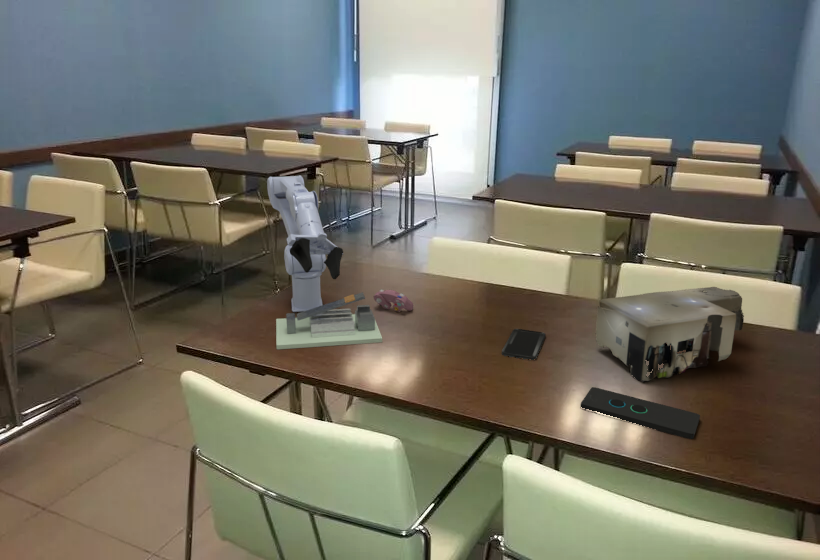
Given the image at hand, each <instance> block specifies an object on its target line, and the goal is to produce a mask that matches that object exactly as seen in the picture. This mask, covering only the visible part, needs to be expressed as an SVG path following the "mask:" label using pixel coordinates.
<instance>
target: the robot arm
mask: <svg viewBox="0 0 820 560" xmlns="http://www.w3.org/2000/svg"><path fill="white" fill-rule="evenodd" d="M266 184H267V186H266V187H267V195H268V199H269V202H270V205H271V206H272V208H273V209H274V210H276V211H278V212H279V214H280V216H281V219H282V222H283V224H284V227H285V230H286V233H287V237H286V243H287V245H286V246H285V248H284V254H283V256H284V257H283V259H284V265H285V269H286V270H285V272H286V273H287V274H288V275H289V276H291V281H292V282H291V285H292V286H291V288H292V298H291V299H290V301H291V311H292V312H291V313H297V312H298V313H300V312H304V311H307V310H310V309H313V308H316V307H319V306H322V305H324V304H323V300H322V297H321V296H322V295H321V276H322V273H324V272H325V270H326V268H327V269H328V270H329V274H330V277H331V278H332V279H333V280H337V279H338V277H339V276H340V275H341V273H340V272H341V271H340V269H341V261H342V258H343V256H344V249H343V248H342V247H339V246H337V245H336V244H334V243H333V242H332V241H331V240H329V239H328V238H327V237H328V235H327V233H325V231H324V228H323V227H324V226H323V224H322V221H321V217H320V214H319V199H318V194H317V192H316V191H315V190H312V191H308V189H307V188H306V187H305V186H306V185H305V180H304V177H303V176H302V175H299V174H298V175H295V176H294V175H290V176H269V177H268V178H267V180H266ZM326 255H327V256H326Z"/></svg>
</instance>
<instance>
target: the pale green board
mask: <svg viewBox="0 0 820 560" xmlns="http://www.w3.org/2000/svg"><path fill="white" fill-rule="evenodd" d="M352 317H353V321H354V325H355V335H345V336H330V337H314V338H312V336H311V328H310V320H309V317H308V318H305V319H301V320H297V317H295V324H296V334H287V319H286V317H285V318H276V319H275V321H276V322H275V323H276V324H275V326H276V327H275V328H276V329H275V330H276V332H275V335H276V337H275V338H276V341H275V342H276V343H275V344H276V350H287V349H290V350H291V349H303V348H315V347H316V348H319V347H333V346H345V345H346V346H347V345H361V344H362V345H363V344H374V343H375V344H376V343H377V344H378V343H383V337H382V334H381V331H380V329H379V326H378V324H377V321H376V320H375V330H372V331H358V329H357V326H356V323H355V313H352Z"/></svg>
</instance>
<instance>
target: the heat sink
mask: <svg viewBox="0 0 820 560" xmlns="http://www.w3.org/2000/svg"><path fill="white" fill-rule="evenodd" d="M351 311H352V310H351V308H340V309H339V308H335V309H332V310H329V311H326V312H323V313H320V314H317V315H314V316H311V317H309V320H310V328H311V336H312V338H314V337H330V336H345V335H355V325H354V321H353V317H352V314H353V312H351Z"/></svg>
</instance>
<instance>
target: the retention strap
mask: <svg viewBox="0 0 820 560" xmlns="http://www.w3.org/2000/svg"><path fill="white" fill-rule="evenodd" d="M362 300H366V297H365V294H364V292H359V293H356V294H354V293H352V294H349V295H347V296H344V297H343V298H340V299H337V300H335V301H332V302H328V303H325V304H323V305H322V306H319V307H316V308H313V309H310V310H307V311H302V312H298V313H297V312H296V318H297V320H301V319H305V318H308V317H311V316H314V315H317V314H320V313H323V312H326V311H329V310H333V309H339V308H340V307H345V306H347V305H350V304H352V303H357V302H359V301H362Z"/></svg>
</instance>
